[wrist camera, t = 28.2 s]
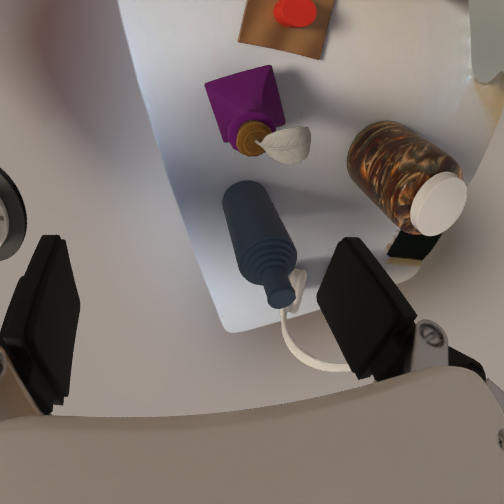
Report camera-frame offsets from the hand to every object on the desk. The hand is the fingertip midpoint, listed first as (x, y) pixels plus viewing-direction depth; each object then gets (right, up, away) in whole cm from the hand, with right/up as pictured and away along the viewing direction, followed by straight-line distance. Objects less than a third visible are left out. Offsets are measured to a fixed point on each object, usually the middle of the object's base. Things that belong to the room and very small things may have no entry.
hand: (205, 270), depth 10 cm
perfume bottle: (0, +19, +24) cm, 30 cm away
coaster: (+6, +28, +17) cm, 33 cm away
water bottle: (+1, +8, +33) cm, 34 cm away
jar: (+21, +15, +32) cm, 41 cm away
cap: (+6, +28, +17) cm, 33 cm away
